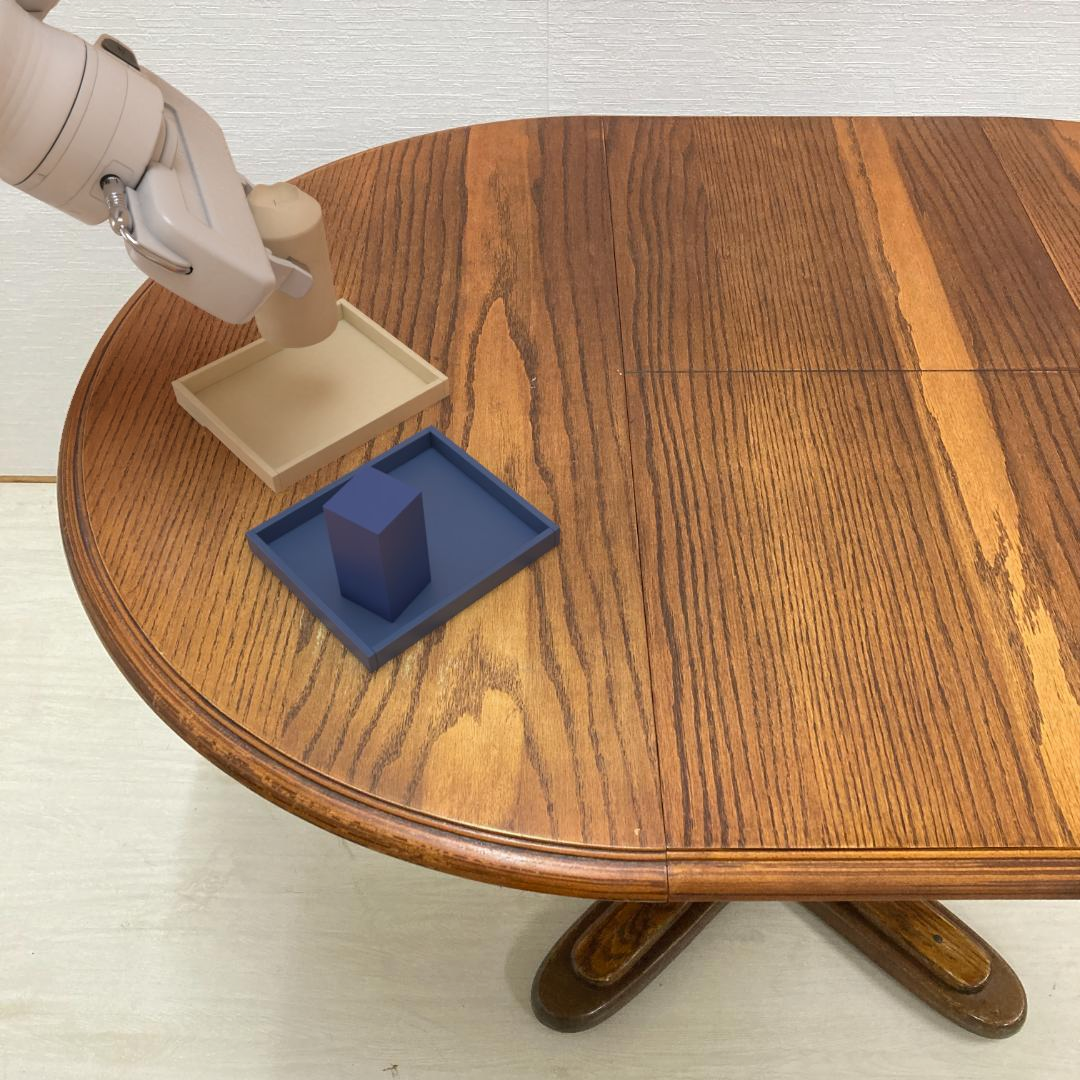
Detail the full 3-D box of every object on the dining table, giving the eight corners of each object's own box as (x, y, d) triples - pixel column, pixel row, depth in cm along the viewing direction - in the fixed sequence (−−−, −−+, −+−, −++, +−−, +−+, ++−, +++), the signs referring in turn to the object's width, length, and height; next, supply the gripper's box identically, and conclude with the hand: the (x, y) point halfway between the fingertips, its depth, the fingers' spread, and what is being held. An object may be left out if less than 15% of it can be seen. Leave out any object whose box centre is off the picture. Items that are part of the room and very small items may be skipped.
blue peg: (392, 623, 67) (378, 534, 61) (340, 595, 68) (322, 506, 62) (431, 580, 69) (422, 490, 63) (381, 554, 70) (366, 464, 64)
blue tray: (372, 677, 65) (368, 657, 63) (250, 553, 71) (244, 532, 70) (560, 548, 71) (560, 527, 70) (433, 445, 78) (431, 424, 76)
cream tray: (277, 498, 74) (272, 477, 73) (177, 403, 81) (171, 382, 79) (450, 399, 81) (448, 378, 80) (346, 318, 87) (342, 297, 86)
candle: (292, 360, 73) (265, 228, 66) (241, 325, 76) (209, 194, 68) (355, 322, 76) (336, 191, 68) (304, 290, 78) (280, 159, 71)
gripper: (149, 190, 55) (364, 311, 64) (105, 20, 67) (290, 142, 77) (82, 284, 57) (300, 387, 67) (52, 103, 70) (239, 211, 79)
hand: (294, 255), depth 72 cm, fingers closed on candle, 5 cm apart
